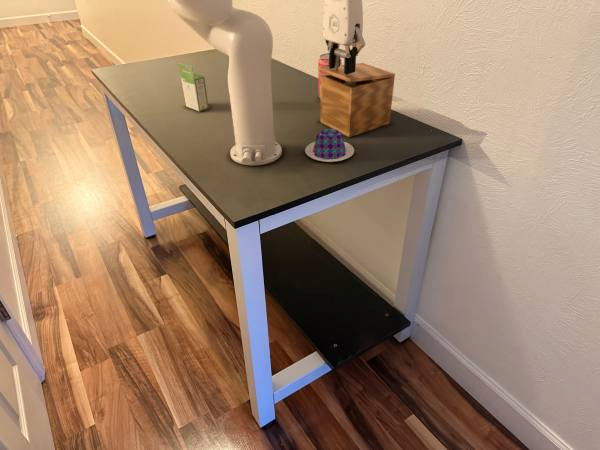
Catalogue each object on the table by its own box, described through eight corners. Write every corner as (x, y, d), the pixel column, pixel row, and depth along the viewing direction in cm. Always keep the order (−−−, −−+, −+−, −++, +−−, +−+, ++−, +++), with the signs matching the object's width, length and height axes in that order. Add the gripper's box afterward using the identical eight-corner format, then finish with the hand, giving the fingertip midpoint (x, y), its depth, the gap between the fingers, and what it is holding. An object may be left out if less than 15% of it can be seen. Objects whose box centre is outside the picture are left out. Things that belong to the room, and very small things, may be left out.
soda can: (339, 102, 129) (340, 59, 122) (316, 101, 131) (316, 58, 123) (342, 95, 135) (343, 52, 127) (320, 93, 136) (320, 52, 128)
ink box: (209, 108, 128) (202, 63, 120) (199, 112, 126) (191, 66, 118) (196, 103, 132) (188, 59, 124) (185, 106, 129) (177, 62, 121)
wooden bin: (349, 137, 109) (351, 88, 102) (320, 122, 118) (320, 76, 110) (389, 123, 116) (394, 77, 108) (359, 110, 124) (362, 66, 116)
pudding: (351, 141, 107) (352, 122, 104) (356, 164, 97) (357, 143, 94) (304, 142, 107) (304, 123, 104) (305, 165, 98) (305, 144, 94)
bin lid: (349, 82, 100) (353, 56, 97) (318, 70, 109) (320, 45, 105) (394, 76, 108) (399, 52, 105) (362, 65, 116) (365, 42, 113)
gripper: (308, -14, 98) (310, 65, 109) (356, -6, 87) (352, 82, 98) (333, -17, 102) (332, 60, 112) (383, -10, 90) (376, 75, 101)
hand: (341, 69), depth 105 cm, fingers open, 5 cm apart
